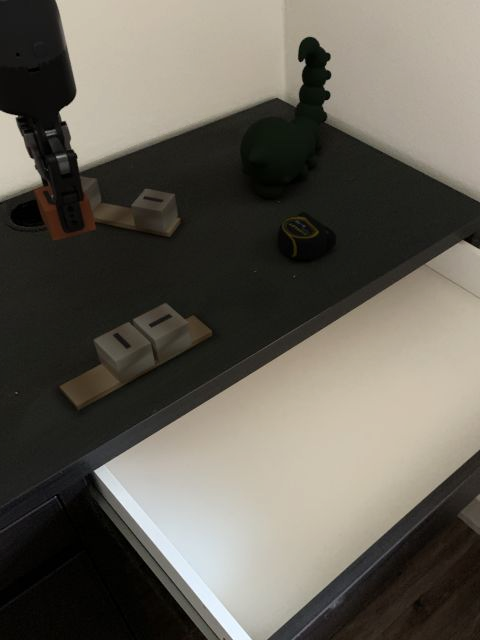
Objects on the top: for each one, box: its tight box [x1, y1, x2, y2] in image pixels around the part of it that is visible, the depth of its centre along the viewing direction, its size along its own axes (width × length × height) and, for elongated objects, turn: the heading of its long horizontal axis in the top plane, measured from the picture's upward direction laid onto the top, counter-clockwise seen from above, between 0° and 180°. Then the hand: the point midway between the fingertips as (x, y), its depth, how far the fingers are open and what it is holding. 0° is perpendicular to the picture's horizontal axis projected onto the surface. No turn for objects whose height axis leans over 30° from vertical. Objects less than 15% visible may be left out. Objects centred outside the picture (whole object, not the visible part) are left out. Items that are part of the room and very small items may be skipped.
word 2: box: [59, 302, 213, 411], centre depth 74 cm, size 18×4×4 cm, turn 132°
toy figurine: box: [239, 36, 332, 200], centre depth 97 cm, size 9×19×25 cm
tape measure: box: [277, 211, 337, 261], centre depth 90 cm, size 7×7×4 cm
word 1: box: [80, 175, 182, 238], centre depth 93 cm, size 17×4×4 cm, turn 73°
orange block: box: [32, 186, 97, 241], centre depth 68 cm, size 4×4×4 cm
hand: (66, 216), depth 69 cm, fingers closed on orange block, 4 cm apart
